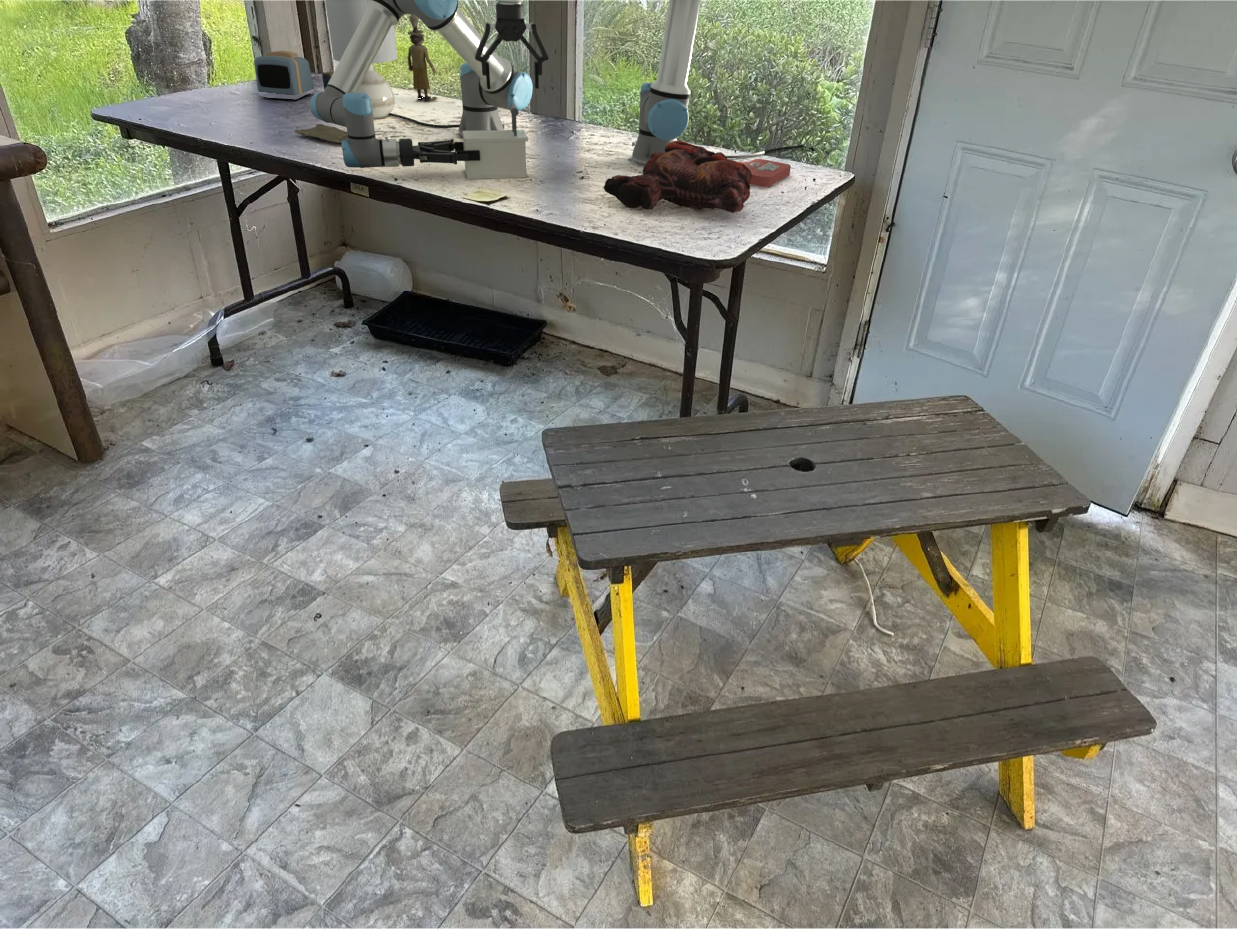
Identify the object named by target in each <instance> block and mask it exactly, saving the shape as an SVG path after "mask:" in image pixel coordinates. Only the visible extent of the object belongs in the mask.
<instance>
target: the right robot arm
mask: <svg viewBox="0 0 1237 929" xmlns="http://www.w3.org/2000/svg"><path fill="white" fill-rule="evenodd" d="M495 1H496V2H497V3H496V4H495V23H490V22H488V21H485V23H484V31H483V34H482V35H481V36H482V39H481V41H480V44H479V46H478V49H477V51H476V54H475V59H476V60H477V61H480V62H481V64H482V74H483V76H486V82H487V89H490V72H489V63H488V62H487V60H488V59H489V57H490V56H491V55H492V53H493V52H496V49H497V48H498V47H499V45H500V44H501V43H502V42H503V41H504V42H506V43H507V42H515V43H516V42H519V41H521V43H522V44H523V45H524V46H525V47H526V48H527V50H528V51H529V52H530V54H531V55H532V56H533V58H534V59H535V60H536V61H533V63H534V64H533V65H534V66H533V70H534V71H533V72H534V73H533V74H534V88H535V89H538V90H539V89H540V84H539V81H540V80H539V77H540V76H542V75H543V62H545V61H548V60H549V55H548V53H547V51H546V49H545V47H544V44H543V43H542V40H541V38H540V37H539V34H538V30H537V24H536V23H535V22H534V21H532V22H530V23H526V22H525V5H524V4H523V2H524V1H525V0H495ZM701 2H702V0H668V6H667V12H666V19H665V24H664V31H663V39H662V44H661V51H660V57H659V62H658V63H659V64H658V69H657V70H658V71H657V75H656V76H657V77H656V80H654V81H653V82H644V83H642V84H641V85H640V91H639V96H640V98H639V120H638V135H637V138H636V140H635V141H633V142H632V143H631V147H633V150H632V154H631V161H632V162H633V163H634V164H635V165H638V166H643V167H645V165H646V163H647V162H648V160H650V159H651V158H650V157H651V155H652V154H653V153H657V152H658V153H660V152H664V153H665V147H666V146H667V145H668V144H669V143H671V142H673V141H677V140H678V139H677V138H679V137H680V136H682V135H683V134H684V132H685V131H686V130H687V128H688V126H689V122H690V121H689V120H690V118H689V117H690V115H689V114H690V113H689V110H688V109H689V102H690V97H691V90H690V89H689V87H688V85H687V82H688V78H689V72H690V65H691V60H692V54H693V49H694V43H695V37H696V32H697V26H698V21H699V20H698V19H699V15H700V8H701ZM494 29H495V31H496V33H498V34H497V35H496V37H495V39H494V40H493V41H492V43H491V44H490V45H489V46H490V47H489V48H488V50H487V51H486V52H485V54H484V55H483V57H481V54H482V52H483V49H484V47H485V44H486V42H487V43H488V39H489V37H490V34H491V33H492V32H493V30H494ZM527 30H528V32H529V33H531V35H532V36H533V39H534V41H535V44H536V45H537V47H538V49H539V51H540V54H541V55H539V54H538V53H537V51H536V50H535V48H534V47H533V46H532V45H531V44H530V42H529V41H528V40H527V38H526V36H524V33H525V32H526V31H527ZM803 145H804V144H800V145H799V144H798V145H793V146H782V147H776V148H771V149H766V150H763V151H758V152H754V153H749V154H741V155H739V154H738V155H725V156H726V158H727V159H741V158H742V159H743V158H750V157H754V156H759V155H765V154H768V153H772V152H777V151H782V150H794V149H800V148H805V147H804V146H803ZM809 149H810V150H811V151H812V152H816V149H815V148H814V147H812V148H809Z"/></svg>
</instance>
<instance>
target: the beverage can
mask: <svg viewBox="0 0 1237 929" xmlns="http://www.w3.org/2000/svg"><path fill="white" fill-rule="evenodd" d="M333 73H334V71H323V72H322V74H321V77H322V85H323V91H324V90H325V88H326V87H327V84H328V83H329V81H330V79H331V77H332V75H333Z"/></svg>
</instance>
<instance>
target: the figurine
mask: <svg viewBox="0 0 1237 929" xmlns="http://www.w3.org/2000/svg"><path fill="white" fill-rule="evenodd" d="M408 18H409V21H410V24H411V26H412V30H411V31H408V32H407V34H408V35H409V39H410V42H411V44H412V45H410V46H409V47H408V50H407V51H408V53H407V65H408V71H409V72H412V76H413V78H412V87H413V90H416V93H417V99H416V101H417V102H421V101H423V102H430V101H434V100H436V99H437V97H436V96H429V95H428V94H429V93H428V90H430V87H431V85H430V81H429V76H428V75H429V74H428V66H427V65H429V68H431V71H432V74H433V76H434V77H435V75H436V72H437V71H436V70H437V69H436V68H435V66H434V64H433V63H432V61H431V59H430V57H429V52H428V48H427V47H426V46H425V45H423V44H424V42H425V35H424V31H423V30H420V29H418V25H419V20H420V19H419V18H418V17H417V16H415V15H410V14H409V16H408ZM422 91H423V93H424V95H422ZM423 96H425V97H423ZM422 97H423V98H422ZM431 97H432V98H431ZM418 98H421V99H418Z"/></svg>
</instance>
